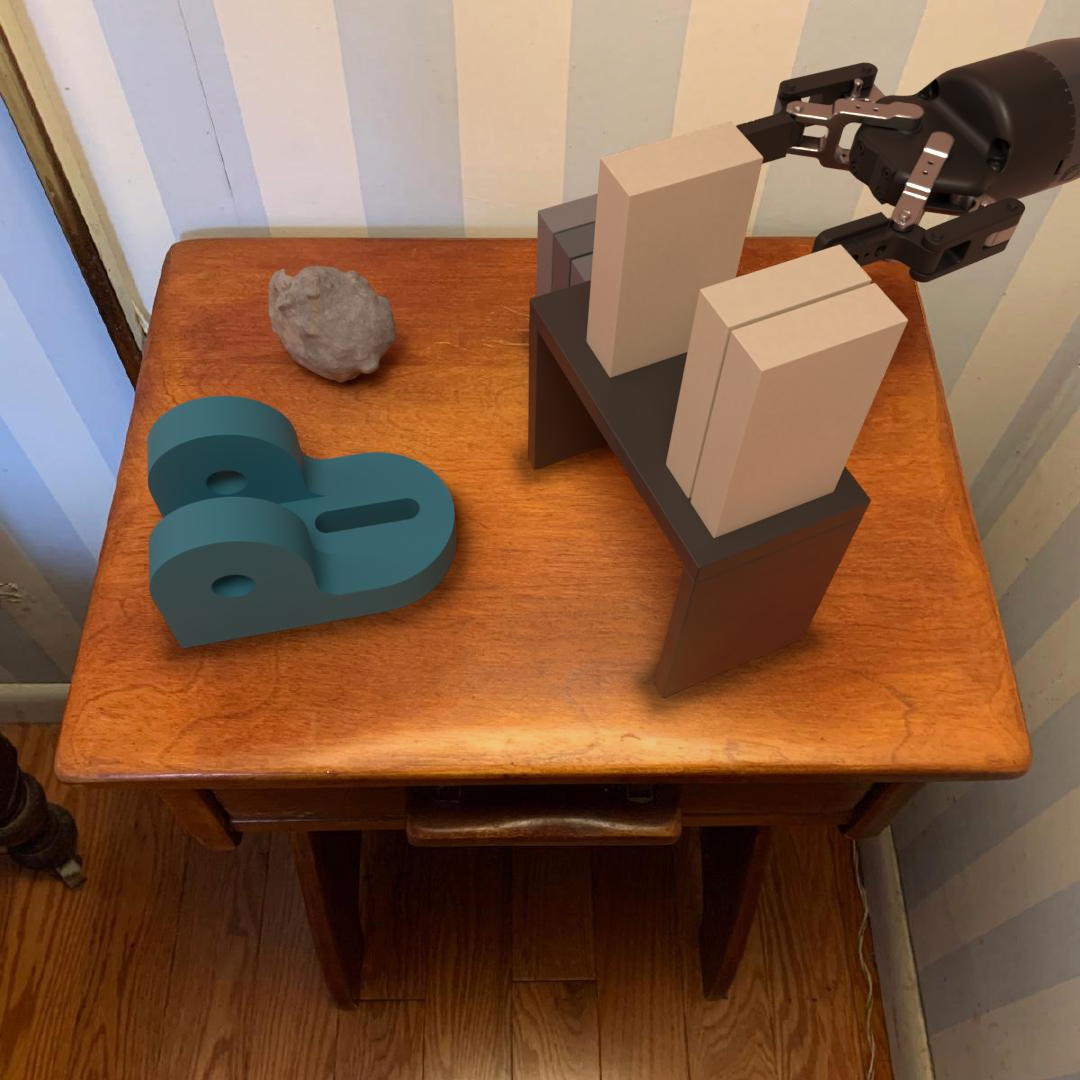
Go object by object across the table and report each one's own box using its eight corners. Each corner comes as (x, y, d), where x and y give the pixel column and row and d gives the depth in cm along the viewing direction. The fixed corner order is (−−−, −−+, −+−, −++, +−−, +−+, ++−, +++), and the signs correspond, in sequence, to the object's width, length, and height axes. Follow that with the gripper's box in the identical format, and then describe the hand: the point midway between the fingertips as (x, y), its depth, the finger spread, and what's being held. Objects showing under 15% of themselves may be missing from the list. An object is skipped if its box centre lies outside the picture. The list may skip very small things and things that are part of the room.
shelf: (803, 639, 64) (872, 500, 52) (662, 698, 62) (698, 568, 49) (653, 413, 74) (681, 251, 62) (527, 458, 72) (529, 298, 59)
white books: (833, 492, 52) (909, 319, 42) (713, 538, 50) (761, 371, 40) (781, 422, 54) (840, 243, 44) (665, 464, 53) (699, 288, 43)
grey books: (663, 380, 76) (685, 253, 66) (578, 409, 74) (587, 284, 64) (617, 312, 80) (631, 183, 70) (535, 339, 78) (537, 210, 68)
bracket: (182, 648, 63) (127, 557, 54) (177, 511, 69) (127, 408, 60) (470, 596, 66) (462, 501, 57) (443, 467, 71) (432, 363, 62)
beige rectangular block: (721, 341, 58) (764, 157, 48) (609, 378, 56) (629, 196, 46) (695, 306, 59) (731, 120, 49) (585, 341, 57) (599, 156, 47)
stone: (403, 332, 78) (389, 227, 70) (402, 400, 74) (388, 298, 66) (280, 336, 78) (251, 231, 69) (273, 405, 74) (241, 302, 66)
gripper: (967, -11, 56) (710, 57, 52) (1152, 138, 49) (872, 229, 45) (922, 112, 63) (690, 181, 59) (1081, 259, 56) (829, 348, 52)
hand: (769, 202), depth 52 cm, fingers open, 8 cm apart
